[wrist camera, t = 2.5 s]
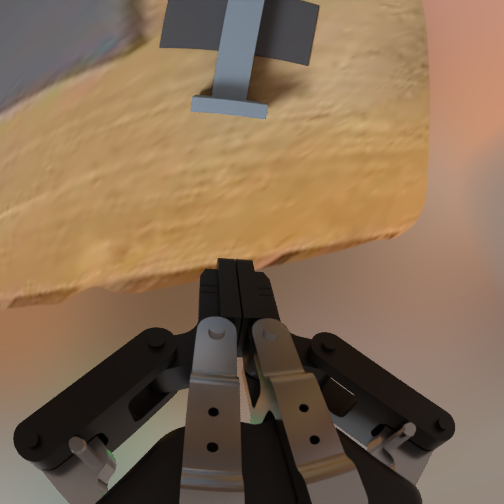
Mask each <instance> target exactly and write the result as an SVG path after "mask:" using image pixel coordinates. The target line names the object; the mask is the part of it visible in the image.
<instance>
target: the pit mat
mask: <svg viewBox="0 0 504 504" xmlns="http://www.w3.org/2000/svg"><path fill="white" fill-rule="evenodd" d="M227 4H228V0H168V4H167V9H166V14H165V19H164V24H163V29H162V35H161V41H160V47H159V48H190V49H206V50H218V51H219V46H220V40H221V35H222V29H223V24H224V19H225V14H226V9H227ZM318 8H319V6H318V5H314V4H311V3H307V2H303V1H300V0H264V5H263V10H262V15H261V20H260V26H259V31H258V36H257V42H256V47H255V53H254V55H257V56H263V57H269V58H274V59H279V60H284V61H289V62H294V63H298V64H302V65H306V66H308V62H309V56H310V51H311V46H312V41H313V35H314V30H315V24H316V19H317V13H318Z"/></svg>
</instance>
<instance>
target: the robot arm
mask: <svg viewBox="0 0 504 504" xmlns="http://www.w3.org/2000/svg"><path fill="white" fill-rule="evenodd" d="M198 312H199V313H198V323H197V325H196V326H195V328H193V329H192V330H191V331H189V332H187V333H184V334H179V335H173V334H172V333H171V332H170V331H168V330H166V329H164V328H156V327H154V328H149V329H146V330H144V331H143V332H141V333H140V334H139V335H137V336H136V337H135V338H133V339H132V340H131V341H129V342H128V343H127V344H125V345H124V346H123V347H121V348H120V349H119V350H117V351H116V352H115V353H113V354H112V355H111V356H109V357H108V358H107V359H105V360H104V361H102V362H101V363H100V364H98V365H97V366H96V367H94V368H93V369H92V370H90V371H89V372H88V373H86V374H85V375H84V376H82V377H81V378H80V379H78V380H77V381H76V382H74V383H73V384H72V385H70V386H69V387H68V388H66V389H65V390H64V391H62V392H61V393H60V394H58V395H57V396H56V397H54V398H53V399H52V400H50V401H49V402H48V403H46V404H45V405H44V406H42V407H41V408H40V409H38V410H37V411H36V412H34V413H33V414H32V415H30V416H29V417H28V418H26V419H25V420H24V421H22V422H21V423H20V424H19V425H18V426H17V427H16V429H15V432H14V437H13V440H14V445H15V448H16V450H17V451H18V453H19V454H20V455H21V456H22V457H23V458H24V459H26V460H27V461H29V462H31V463H32V464H33V465H34V466H35V467H37V468H38V469H40V470H41V471H43V472H44V473H45V475H46V476H47V478H48V479H49V480H50V481H51V482H52V484H53V485H54V486H55V487H56V489H57V490H58V491H59V492H60V493H61V494H62V495H63V497H64V498H65V499H66V500H67V501H68V502H69V503H70V504H422V498H421V495H420V492H419V491H418V489H417V488H416V486H415V485H416V483H417V482H418V480H419V478H420V476H421V474H422V472H423V470H424V468H425V466H426V464H427V462H428V460H429V458H430V456H431V454H432V452H433V450H434V449H436V448H437V447H439V446H440V445H442V444H443V443H445V442H446V441H447V440H449V439H450V438H451V437H452V436H453V434H454V432H455V423H454V420H453V418H452V417H451V415H450V414H449V413H447V412H446V411H445V410H443V409H442V408H440V407H439V406H437V405H436V404H434V403H433V402H431V401H430V400H428V399H427V398H425V397H424V396H423V395H421V394H420V393H418V392H416V391H415V390H414V389H412V388H411V387H409V386H408V385H407V384H405V383H403V382H402V381H401V380H399V379H398V378H396V377H395V376H393V375H392V374H391V373H389V372H388V371H386V370H385V369H383V368H382V367H381V366H379V365H378V364H376V363H375V362H373V361H372V360H370V359H369V358H368V357H366V356H365V355H363V354H362V353H361V352H359V351H357V350H356V349H355V348H353V347H352V346H351V345H349V344H348V343H346V342H345V341H344V340H342V339H341V338H339V337H338V336H336V335H334V334H331V333H327V332H322V333H318V334H316V335H315V336H314V337H313V338H312V339H308V338H304V337H299V336H296V335H294V334H292V333H290V332H289V330H288V328H287V327H286V325H284V324H283V323H282V322H281V321H280V318H279V314H278V310H277V306H276V302H275V299H274V294H273V291H272V287H271V283H270V280H269V278H268V277H267V276H266V275H265V274H264V273H263V272H255V271H254V266H253V261H252V260H241V259H225V258H218V260H217V269H205V270H204V272H203V273H202V274H201V276H200V290H199V311H198ZM237 357H243V368H242V377H243V382H244V386H245V391H246V396H247V400H248V405H249V410H250V424H249V423H244V422H240V383H239V378H238V377H237ZM331 378H333V379H334V380H335V381H337V382H338V383H339V384H341V385H342V386H343V387H345V388H346V389H347V390H349V391H350V392H352V393H353V394H354V395H355V396H354V395H352V394H351V393H350V392H348V391H347V390H346V389H344V388H343V387H341V386H340V385H339V384H337V383H336V382H335V381H333V380H332V379H331ZM186 388H189V393H188V403H187V413H186V424H185V426H184V427H181V428H178V429H175V430H173V431H171V432H169V433H168V434H166V435H165V436H163V437H162V438H161V439H160V440H159V441H158V442H157V443H156V444H155V445H154V446H153V447H152V448H151V449H150V450H149V451H148V452H147V453H146V454H145V455H144V456H143V457H142V458H141V459H140V460H139V461H138V462H137V463H136V464H135V465H134V466H133V467H132V468H131V469H130V470H129V471H128V472H127V473H126V475H124V476H123V477H122V478H121V479H120V480H119V481H118V482H117V483H116V484H115V485H114V486H113V487H112V488H111V489H110V490H109V491H108V488H107V486H108V481H109V479H110V477H111V476H112V475H113V473H114V472H115V469H116V460H115V458H114V455H113V454H112V452H113V451H114V450H116V449H117V448H118V447H119V446H120V445H121V444H122V443H123V442H125V440H127V439H128V438H129V437H130V436H131V435H132V434H133V433H135V432H136V431H137V430H138V429H139V428H140V427H141V426H142V425H143V424H144V423H145V422H147V421H148V420H149V419H150V418H151V417H152V416H153V415H154V414H155V413H156V412H157V411H158V410H159V409H161V408H162V407H163V406H164V405H165V404H166V403H167V402H168V401H169V400H170V399H171V398H172V397H173V396H174V395H175V394H176V393H177V392H178V390H181V389H186ZM334 424H336V425H337V426H338V427H340V428H341V429H342V430H344V431H345V432H346V433H348V434H349V435H351V436H352V437H354V438H355V439H356V440H358V441H359V442H360V443H362V444H363V445H365V446H366V447H367V451H366V450H365V449H364V448H362V447H361V446H360V445H358V444H357V443H356V442H355V441H353V440H352V439H350V438H349V437H348V436H347V435H345V434H344V433H343V432H342V431H340V430H339V429H337V428H335V426H334Z"/></svg>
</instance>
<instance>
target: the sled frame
mask: <svg viewBox="0 0 504 504" xmlns="http://www.w3.org/2000/svg"><path fill="white" fill-rule="evenodd" d="M263 5H264V0H228V4H227V9H226V14H225V19H224V24H223V29H222V35H221V40H220V46H219V52H218V58H217V64H216V70H215V76H214V83H213V90H212V96H207V95H194V96H193V97H192V104H191V111H192V112H206V113H217V114H227V115H236V116H245V117H252V118H260V119H266V116H267V110H268V105H266V104H264V103H262V102H259V101H252V100H246V99H247V93H248V87H249V81H250V75H251V70H252V64H253V58H254V53H255V47H256V42H257V36H258V31H259V26H260V20H261V15H262V10H263Z"/></svg>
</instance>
